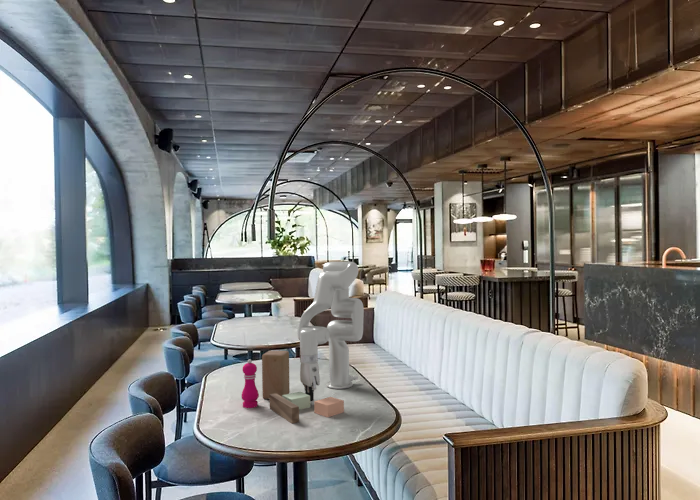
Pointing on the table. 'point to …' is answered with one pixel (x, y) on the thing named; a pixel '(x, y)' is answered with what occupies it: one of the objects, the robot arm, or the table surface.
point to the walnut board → (284, 408)
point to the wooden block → (275, 373)
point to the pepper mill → (250, 386)
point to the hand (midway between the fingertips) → (309, 400)
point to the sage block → (298, 399)
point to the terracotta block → (329, 406)
